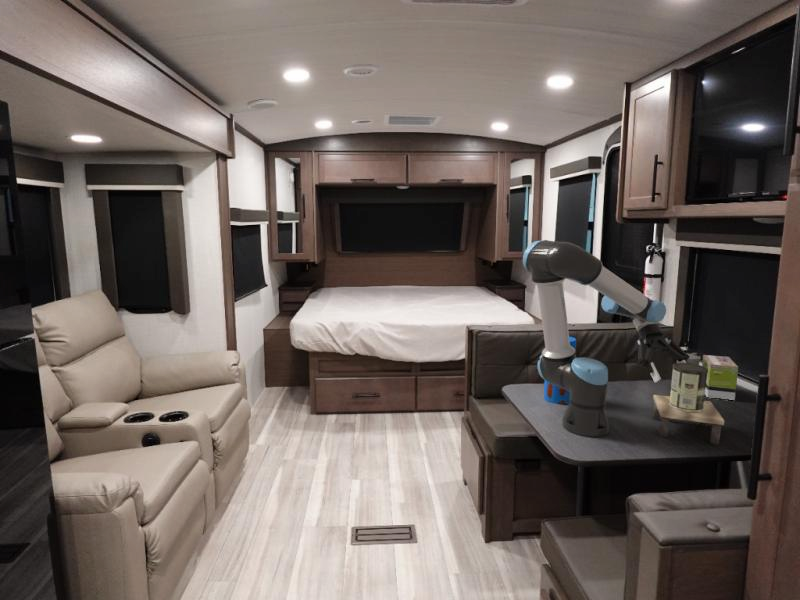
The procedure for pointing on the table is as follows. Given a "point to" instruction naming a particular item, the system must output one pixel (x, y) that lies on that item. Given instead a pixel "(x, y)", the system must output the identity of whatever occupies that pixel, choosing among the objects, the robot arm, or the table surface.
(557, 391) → the thermos
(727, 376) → the tea box
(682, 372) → the coffee can
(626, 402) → the table surface
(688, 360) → the coffeepot
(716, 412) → the small wooden table
